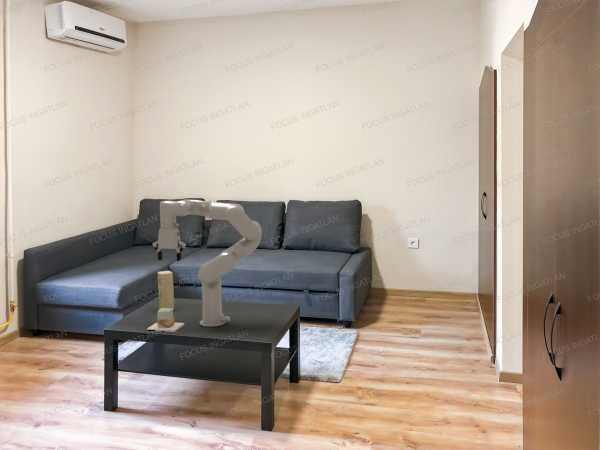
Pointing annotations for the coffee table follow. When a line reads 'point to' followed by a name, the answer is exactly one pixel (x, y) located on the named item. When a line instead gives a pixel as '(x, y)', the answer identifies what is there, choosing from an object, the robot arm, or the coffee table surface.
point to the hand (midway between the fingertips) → (169, 260)
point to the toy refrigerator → (165, 289)
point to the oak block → (165, 323)
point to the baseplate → (171, 329)
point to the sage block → (165, 313)
